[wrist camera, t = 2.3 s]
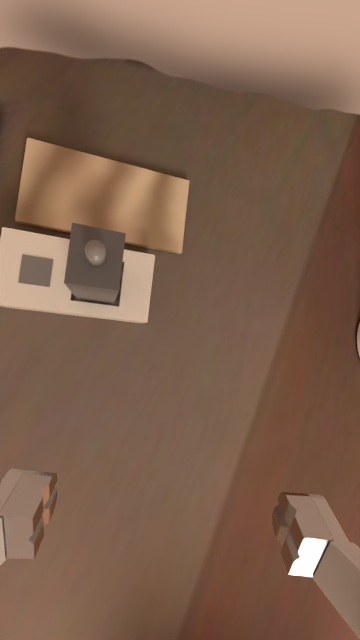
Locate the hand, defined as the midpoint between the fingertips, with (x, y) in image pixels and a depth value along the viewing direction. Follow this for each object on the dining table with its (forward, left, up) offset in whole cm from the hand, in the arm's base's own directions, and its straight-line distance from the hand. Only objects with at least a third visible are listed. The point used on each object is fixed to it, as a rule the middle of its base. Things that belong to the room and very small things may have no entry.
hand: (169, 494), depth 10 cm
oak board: (+4, -22, -26) cm, 34 cm away
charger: (+4, -11, -24) cm, 27 cm away
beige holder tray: (+6, -11, -26) cm, 29 cm away
